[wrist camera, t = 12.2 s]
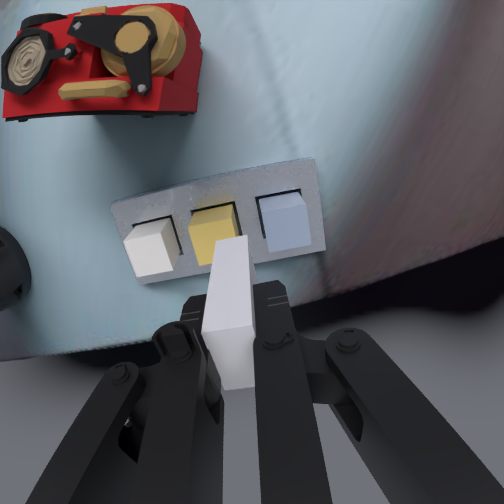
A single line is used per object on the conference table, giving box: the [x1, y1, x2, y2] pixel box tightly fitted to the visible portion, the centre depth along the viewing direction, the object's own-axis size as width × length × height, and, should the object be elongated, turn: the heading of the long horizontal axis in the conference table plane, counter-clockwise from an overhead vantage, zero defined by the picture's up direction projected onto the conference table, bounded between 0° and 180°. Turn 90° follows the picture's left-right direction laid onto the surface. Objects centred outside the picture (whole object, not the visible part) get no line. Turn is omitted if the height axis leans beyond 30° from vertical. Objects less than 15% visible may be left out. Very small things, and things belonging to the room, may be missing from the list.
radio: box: [1, 3, 203, 122], centre depth 22 cm, size 16×10×20 cm, turn 82°
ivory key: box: [123, 218, 180, 277], centre depth 36 cm, size 5×5×5 cm
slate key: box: [259, 192, 312, 253], centre depth 35 cm, size 5×5×5 cm
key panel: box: [110, 157, 326, 285], centre depth 39 cm, size 26×12×2 cm, turn 101°
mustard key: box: [188, 204, 240, 266], centre depth 36 cm, size 5×5×5 cm
